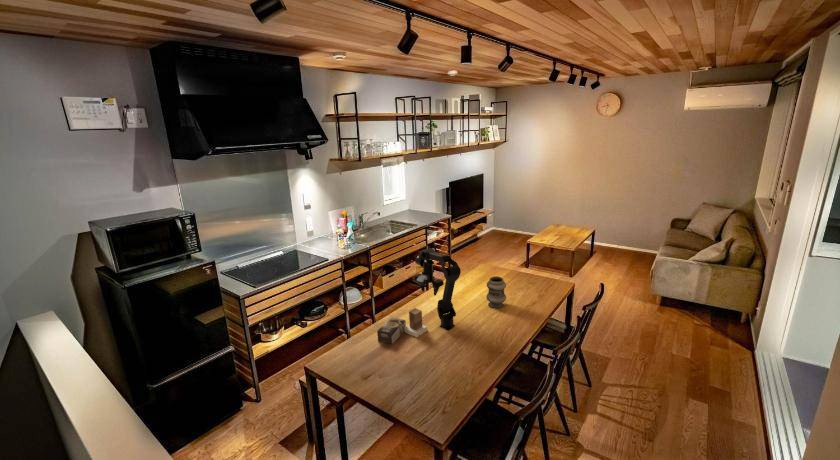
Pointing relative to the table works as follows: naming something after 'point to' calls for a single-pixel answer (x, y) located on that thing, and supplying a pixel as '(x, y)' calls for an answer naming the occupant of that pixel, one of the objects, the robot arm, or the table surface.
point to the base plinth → (414, 332)
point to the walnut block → (415, 319)
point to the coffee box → (391, 330)
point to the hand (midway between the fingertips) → (429, 293)
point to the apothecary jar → (496, 292)
